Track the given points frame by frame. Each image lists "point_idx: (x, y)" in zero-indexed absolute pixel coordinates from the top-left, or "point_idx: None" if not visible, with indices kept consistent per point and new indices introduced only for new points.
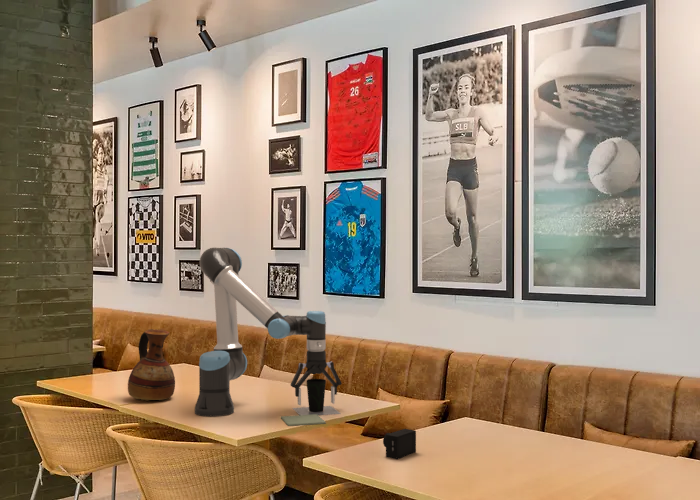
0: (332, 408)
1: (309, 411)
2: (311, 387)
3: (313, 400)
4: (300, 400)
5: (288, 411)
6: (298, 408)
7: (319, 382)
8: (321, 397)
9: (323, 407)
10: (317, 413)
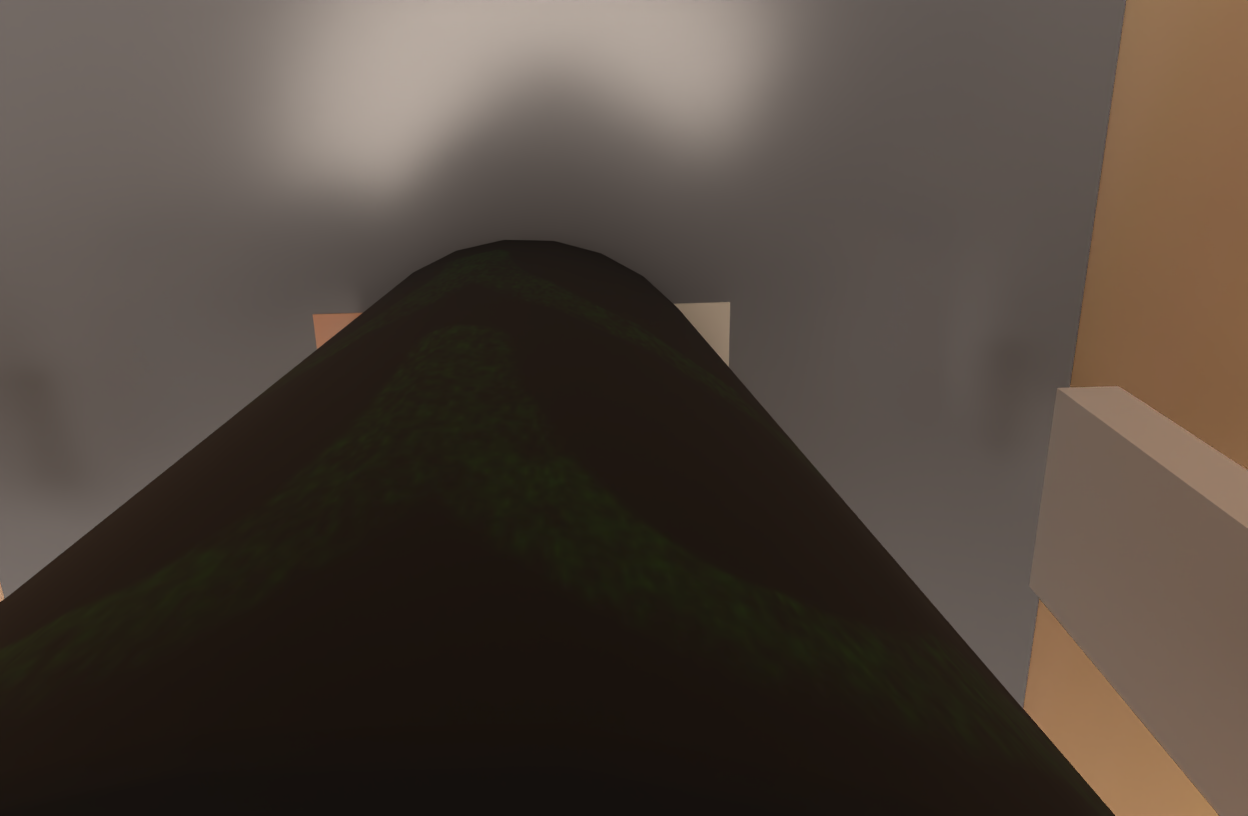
0: None
1: None
2: (957, 653)
3: (684, 341)
4: (1164, 453)
5: None
6: None
7: (158, 759)
8: (320, 354)
9: None
10: (567, 57)
